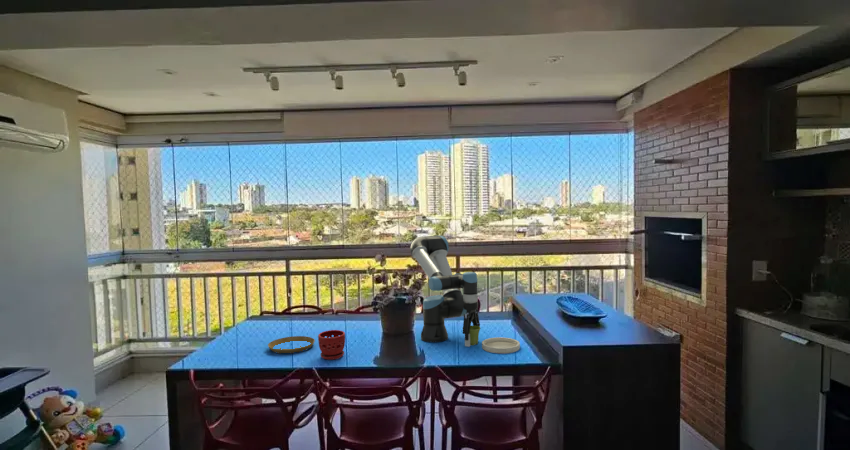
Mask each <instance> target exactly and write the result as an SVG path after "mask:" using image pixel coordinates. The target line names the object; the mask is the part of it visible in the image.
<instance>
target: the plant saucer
mask: <svg viewBox="0 0 850 450" xmlns="http://www.w3.org/2000/svg"><path fill="white" fill-rule="evenodd" d="M290 341H307V342H310V343H311V344H310V345H308V346H305V347H301V346H300V347H301V348H295V349H282V350H281V348H280V349H273V347H274V346H275V345H278V344H281V343H285V342H290ZM315 342H316V340H315V338H313V337H311V336H304V335H298V336H297V335H296V336H295V335H294V336H286V337H281V338H277V339H274V340H272V341H270V342H269V343H268V344H267V346H268V348H269V350H271V351H272V352H273V353H276V352H277V353H276V354H281V353H290V354H295V353H294V352H297V353H301V352H304V351H303V350H305V351H307V350H309V349H310V348H312V347H313V345H314V343H315ZM308 348H309V349H308ZM306 349H307V350H306ZM300 351H301V352H300Z"/></svg>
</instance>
